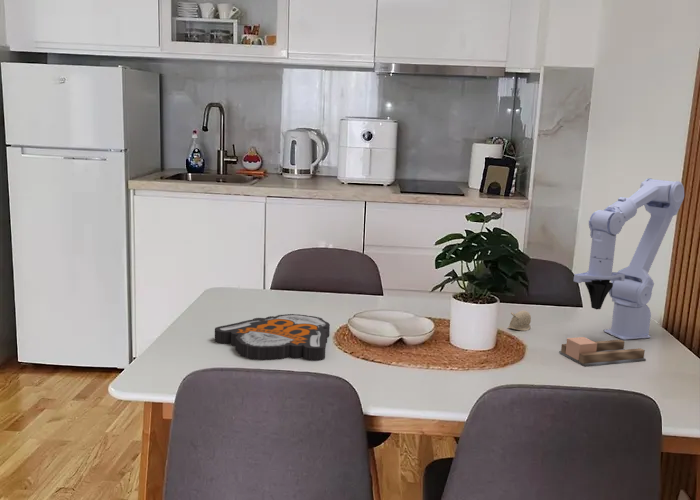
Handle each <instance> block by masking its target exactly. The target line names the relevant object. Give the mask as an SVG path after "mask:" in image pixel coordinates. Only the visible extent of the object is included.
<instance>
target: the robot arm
mask: <svg viewBox="0 0 700 500" xmlns="http://www.w3.org/2000/svg"><path fill="white" fill-rule="evenodd" d="M684 198H685V187H684V185H683V182H681V181H680V180H674V181H671V180H665V179H653V178H649V177H648V178H645V180H643V181H641V182H640V187H639V189H638V190H636V191H635V192H633V194H631V195H630V196H629V197H624V196H620V197H618V198H617V200H616V201H615V202H613V203H612V204H610V205H608V206H607V207H605V209H597V210H596V211H594V212H593V213H592V214H591V215H590V217H589V220H588V228H589V230H590V231H589V232H590V234H589V235H590V238H591V244H590V245H591V246H590V255H589V266H588V270H587V271H586V272H580V273H574V274H573V275H574V276H573V282H575V283H578V284H581V283H584V284H585V286H586V289H587V291H588V294H589V298H590V304H591V308H592V309H594V310H601V309H602V306H603V304H604V301H605V300H606V297H607V295H609V297H610V298H611V302H613V311H612V312H613V313H612V320H611V327H610V328H609V329H603V332H605V333H607V334H609V335H611V336H614V337H616V338H618V339H619V340H623V341H625V340H636V339H637V340H638V339H650V338H651V335H649V333H650V325H651V317H652V312H651V309H650V307H649V305H648V303H649V302H650V300H651V298H652V296H653V295H652V294H653V288H654V285H655V283H654V280H653V278H652V277H651V276H650V274H649V272H650V270H651V267H652V265H653V262H654V261H655V259H656V256H657V254H658V251H659V249H660V246H661V244H662V243H663V240H664V238H665V236H666V233H667V231H668V229H669V227H670V224H671V222H672V220H673V217H674V216H676V215H677V214H678V212H679V210H680V208H681V205H682V203H683V201H684ZM643 206H644V209H645V211H646V212H648V213H649V214H650V217H649V220H648V222H647V224H646V227H645V229H644V231H643V233H642V236H641V238H640V241H639V242H638V244H637V247H636V248H635V251H634V254H633V256H632V258H631V260H630V263H629V265H628V266H626V267H624V268H622V269H619V270H617V272H616V271H615V272H614V271H613V266H614V258H615V249H616V242H617V235H618V234H619V233H621V231H622V230H623V226H625V224H626V223H627V222H628V221H629V220H631V219H632V218H634V217H635V216H636V214H637V212H638V209H639V208H641V207H643Z"/></svg>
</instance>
